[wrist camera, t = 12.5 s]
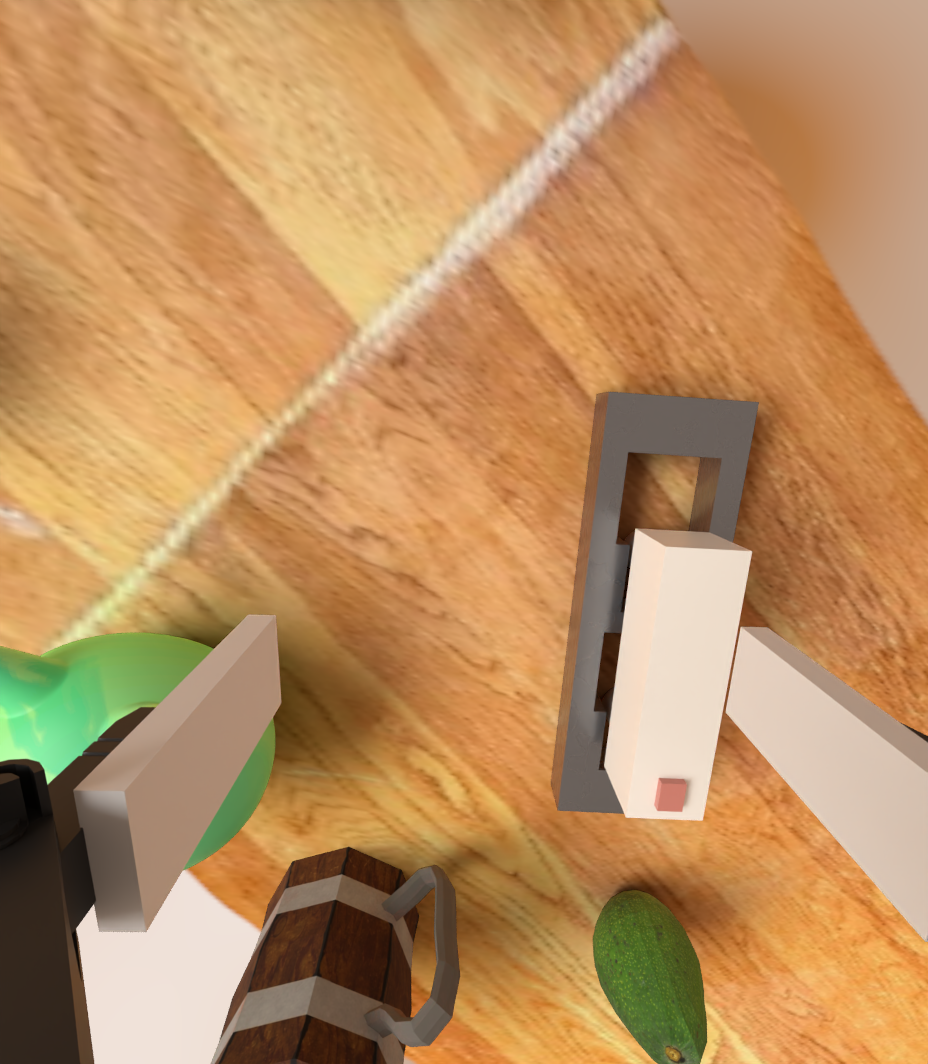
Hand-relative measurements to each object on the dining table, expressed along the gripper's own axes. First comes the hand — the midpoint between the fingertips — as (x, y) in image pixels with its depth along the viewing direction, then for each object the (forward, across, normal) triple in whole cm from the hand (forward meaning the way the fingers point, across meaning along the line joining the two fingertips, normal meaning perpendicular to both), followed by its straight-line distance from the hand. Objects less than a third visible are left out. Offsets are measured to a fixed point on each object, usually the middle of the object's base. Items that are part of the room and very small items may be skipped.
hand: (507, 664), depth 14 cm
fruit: (+23, +15, -36) cm, 45 cm away
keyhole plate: (+24, +13, -8) cm, 28 cm away
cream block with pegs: (+24, +13, -10) cm, 29 cm away
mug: (+23, -8, -35) cm, 43 cm away
